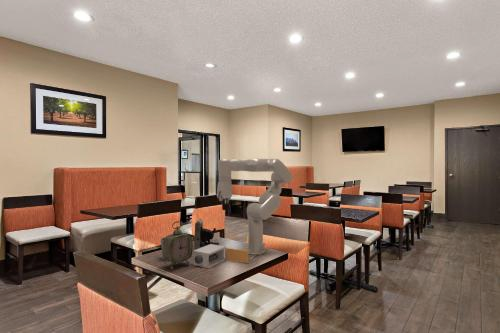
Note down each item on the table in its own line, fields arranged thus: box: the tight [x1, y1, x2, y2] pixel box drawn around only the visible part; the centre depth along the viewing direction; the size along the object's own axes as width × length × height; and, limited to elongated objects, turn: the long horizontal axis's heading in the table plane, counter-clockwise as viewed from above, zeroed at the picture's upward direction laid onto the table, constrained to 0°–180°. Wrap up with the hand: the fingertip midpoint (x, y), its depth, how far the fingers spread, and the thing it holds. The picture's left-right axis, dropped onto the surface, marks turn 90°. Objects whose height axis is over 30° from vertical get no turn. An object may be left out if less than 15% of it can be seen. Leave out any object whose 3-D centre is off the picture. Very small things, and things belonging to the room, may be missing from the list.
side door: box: [224, 247, 250, 264], centre depth 171 cm, size 15×2×7 cm, turn 68°
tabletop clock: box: [163, 220, 194, 271], centre depth 163 cm, size 14×9×25 cm, turn 139°
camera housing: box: [192, 244, 227, 269], centre depth 169 cm, size 18×11×8 cm, turn 150°
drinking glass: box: [160, 237, 168, 262], centre depth 177 cm, size 10×10×12 cm
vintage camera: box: [193, 219, 220, 251], centre depth 194 cm, size 10×15×20 cm, turn 89°
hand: (225, 209), depth 178 cm, fingers closed
